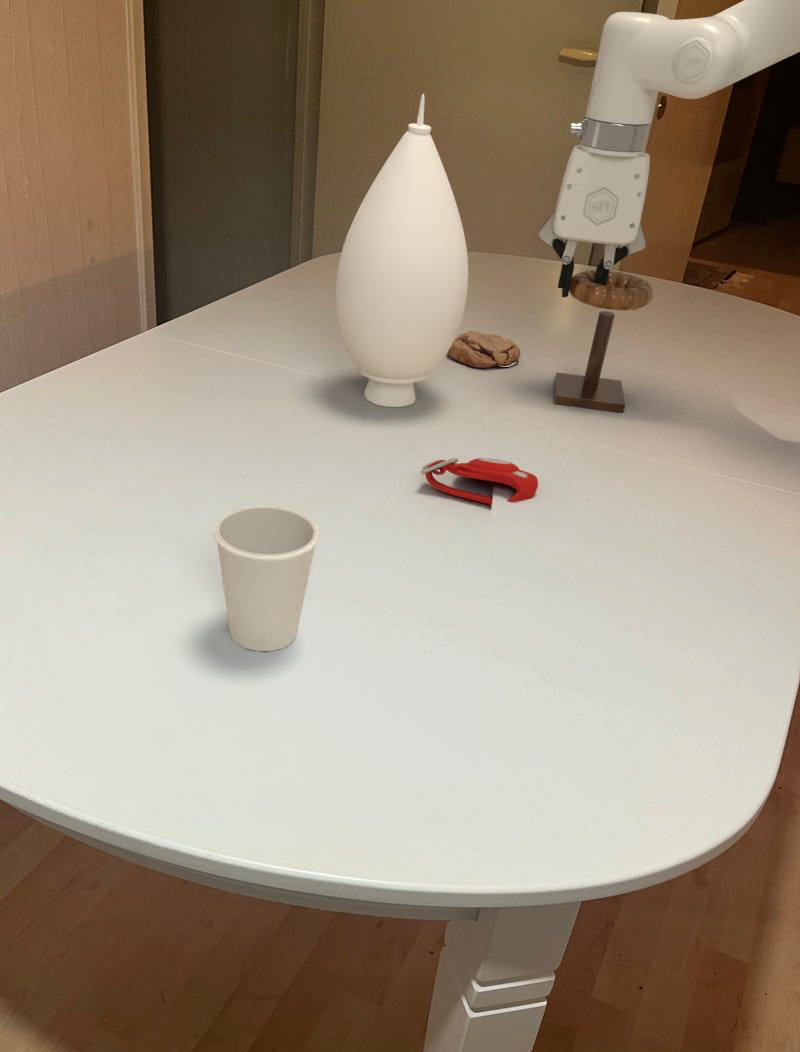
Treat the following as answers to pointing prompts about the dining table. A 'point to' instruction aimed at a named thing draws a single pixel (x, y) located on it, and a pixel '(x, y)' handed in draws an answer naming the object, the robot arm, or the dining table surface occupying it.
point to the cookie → (484, 350)
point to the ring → (611, 291)
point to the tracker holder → (483, 477)
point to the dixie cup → (265, 572)
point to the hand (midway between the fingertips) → (579, 294)
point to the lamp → (403, 272)
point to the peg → (592, 377)
